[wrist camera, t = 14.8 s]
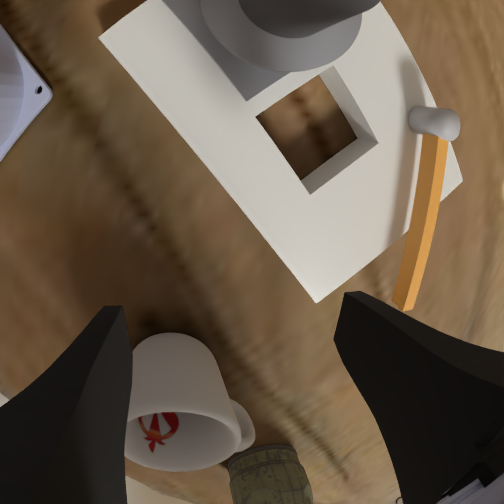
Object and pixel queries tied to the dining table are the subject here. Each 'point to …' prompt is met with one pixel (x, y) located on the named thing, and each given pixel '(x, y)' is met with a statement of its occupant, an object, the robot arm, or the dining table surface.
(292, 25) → the plug
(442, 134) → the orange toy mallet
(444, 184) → the socket board
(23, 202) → the dining table surface
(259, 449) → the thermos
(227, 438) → the cup
